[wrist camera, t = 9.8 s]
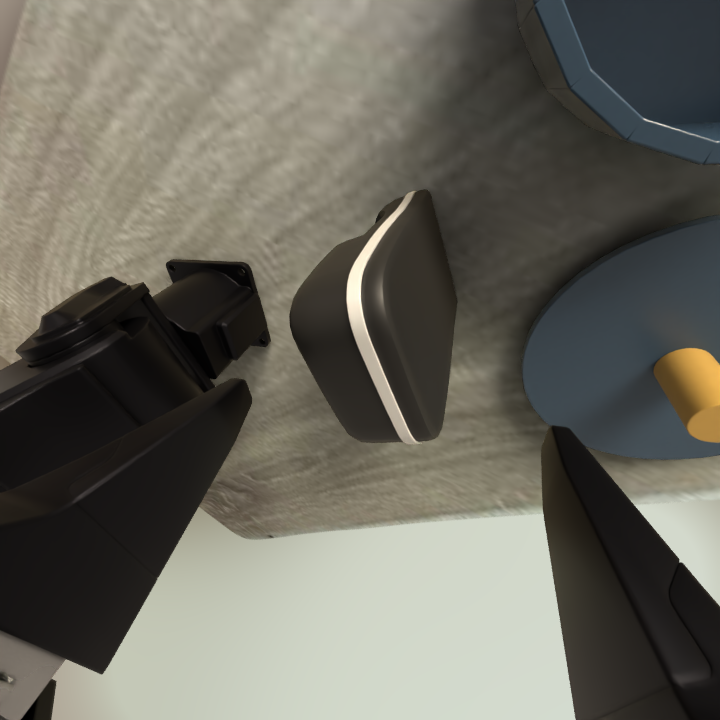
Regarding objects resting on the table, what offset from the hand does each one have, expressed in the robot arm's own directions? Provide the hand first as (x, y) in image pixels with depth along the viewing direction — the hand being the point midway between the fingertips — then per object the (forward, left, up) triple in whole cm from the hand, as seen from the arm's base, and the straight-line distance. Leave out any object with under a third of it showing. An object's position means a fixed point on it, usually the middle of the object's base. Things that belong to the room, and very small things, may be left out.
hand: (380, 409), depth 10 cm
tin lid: (+13, -5, -11) cm, 18 cm away
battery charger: (-1, 0, -12) cm, 12 cm away
